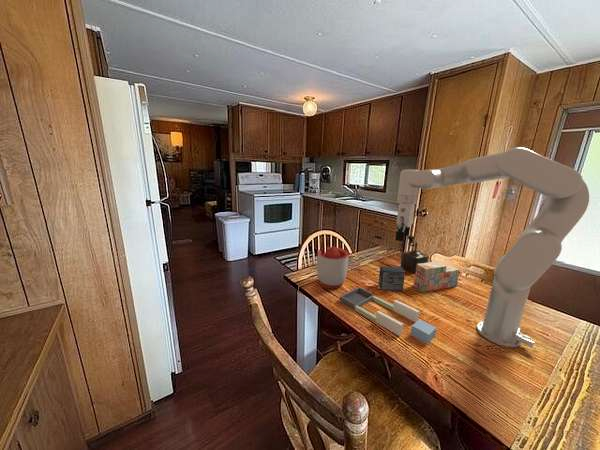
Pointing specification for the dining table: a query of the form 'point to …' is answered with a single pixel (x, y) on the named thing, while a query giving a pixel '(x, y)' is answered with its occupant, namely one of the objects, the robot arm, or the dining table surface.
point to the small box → (391, 278)
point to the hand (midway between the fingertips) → (402, 237)
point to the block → (423, 331)
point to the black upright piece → (412, 257)
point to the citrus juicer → (332, 267)
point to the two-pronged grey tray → (363, 296)
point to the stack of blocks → (435, 276)
